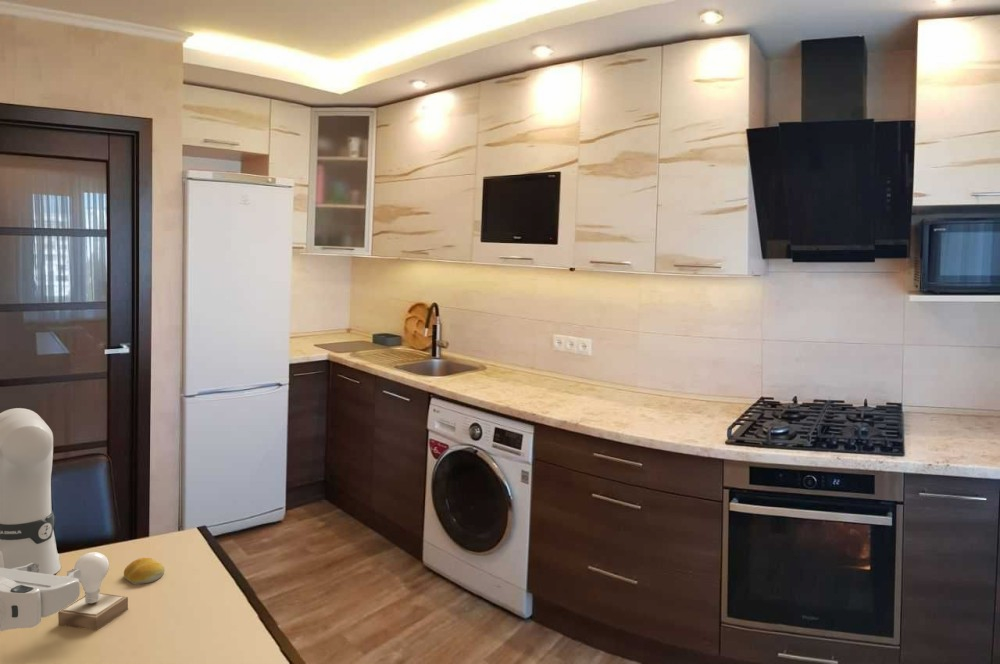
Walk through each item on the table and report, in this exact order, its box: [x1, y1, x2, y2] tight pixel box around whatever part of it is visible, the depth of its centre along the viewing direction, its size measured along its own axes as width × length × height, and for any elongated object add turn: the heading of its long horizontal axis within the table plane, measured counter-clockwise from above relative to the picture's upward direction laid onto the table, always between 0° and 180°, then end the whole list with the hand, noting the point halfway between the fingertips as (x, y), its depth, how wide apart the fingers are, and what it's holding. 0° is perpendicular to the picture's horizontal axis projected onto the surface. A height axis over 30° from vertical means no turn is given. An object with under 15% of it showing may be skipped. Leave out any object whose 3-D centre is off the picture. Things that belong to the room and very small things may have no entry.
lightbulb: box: [73, 551, 110, 604], centre depth 145 cm, size 6×6×11 cm
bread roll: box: [123, 557, 165, 585], centre depth 165 cm, size 8×9×4 cm
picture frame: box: [57, 592, 129, 631], centre depth 146 cm, size 9×9×3 cm
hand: (56, 569), depth 134 cm, fingers open, 8 cm apart
